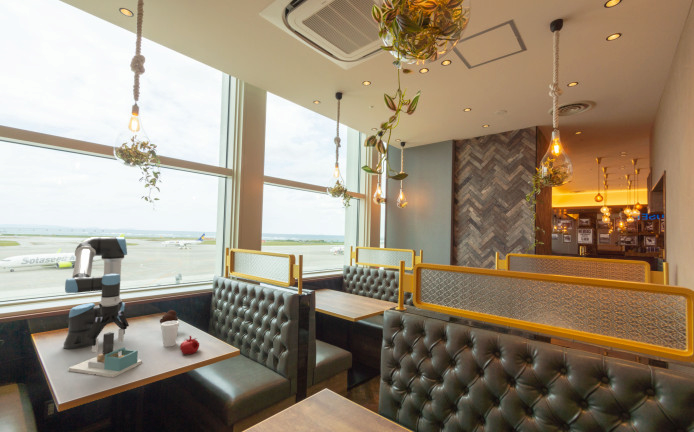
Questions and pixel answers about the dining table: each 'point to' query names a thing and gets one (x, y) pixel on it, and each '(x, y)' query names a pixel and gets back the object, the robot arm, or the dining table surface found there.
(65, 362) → the dining table surface
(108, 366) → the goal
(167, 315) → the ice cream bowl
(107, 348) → the block
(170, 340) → the foam cup
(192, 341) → the pomegranate
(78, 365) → the board
